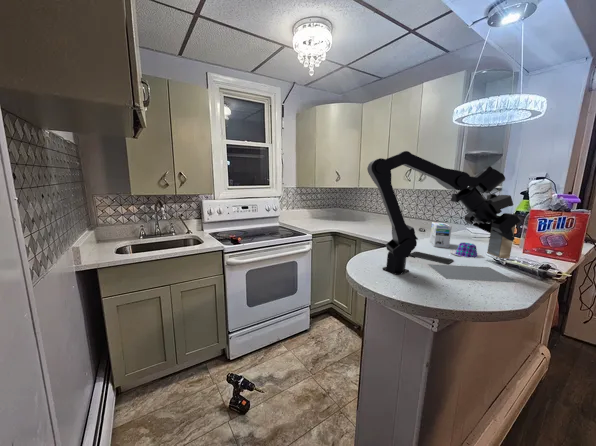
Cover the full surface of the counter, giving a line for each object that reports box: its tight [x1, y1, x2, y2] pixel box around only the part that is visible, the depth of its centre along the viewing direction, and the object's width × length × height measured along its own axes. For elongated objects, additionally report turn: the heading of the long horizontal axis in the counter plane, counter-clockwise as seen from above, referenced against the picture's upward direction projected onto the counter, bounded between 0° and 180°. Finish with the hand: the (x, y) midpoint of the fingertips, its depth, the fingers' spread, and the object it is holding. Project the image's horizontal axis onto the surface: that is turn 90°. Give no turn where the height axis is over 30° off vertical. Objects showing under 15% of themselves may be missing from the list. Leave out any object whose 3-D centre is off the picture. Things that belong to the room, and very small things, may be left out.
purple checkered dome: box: [450, 242, 484, 259], centre depth 108 cm, size 12×12×5 cm
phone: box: [408, 251, 454, 265], centre depth 101 cm, size 8×1×15 cm
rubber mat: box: [427, 263, 520, 283], centre depth 86 cm, size 22×14×1 cm, turn 86°
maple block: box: [487, 225, 516, 259], centre depth 82 cm, size 3×6×12 cm, turn 176°
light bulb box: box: [429, 221, 453, 249], centre depth 124 cm, size 11×7×11 cm, turn 164°
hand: (505, 237), depth 82 cm, fingers closed on maple block, 6 cm apart
